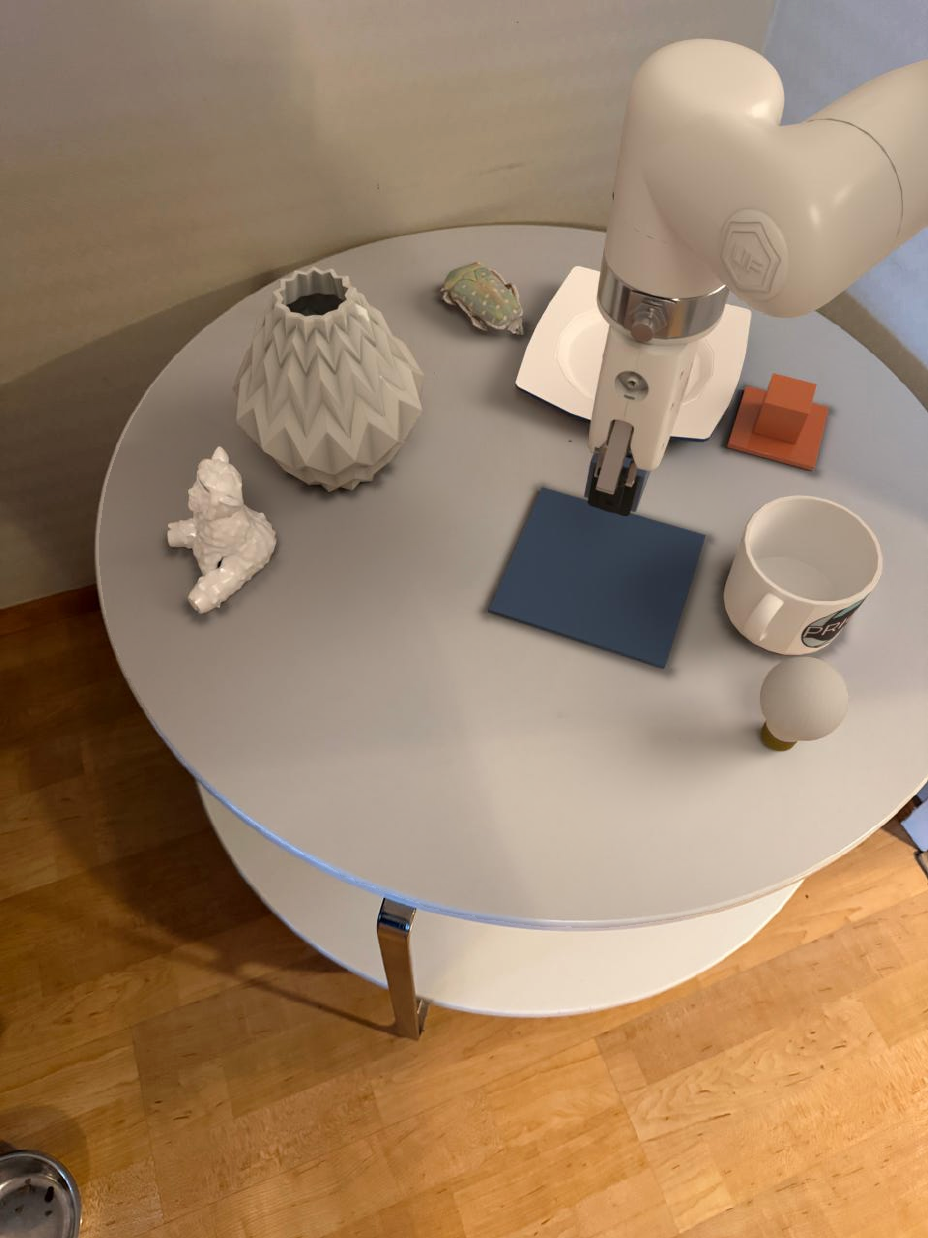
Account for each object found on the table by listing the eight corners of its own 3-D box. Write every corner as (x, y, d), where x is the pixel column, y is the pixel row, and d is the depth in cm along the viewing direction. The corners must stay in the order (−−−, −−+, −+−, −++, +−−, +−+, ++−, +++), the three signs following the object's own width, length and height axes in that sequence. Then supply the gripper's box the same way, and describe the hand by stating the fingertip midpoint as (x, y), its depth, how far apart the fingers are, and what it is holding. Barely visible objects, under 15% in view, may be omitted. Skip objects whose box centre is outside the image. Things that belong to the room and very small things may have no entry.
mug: (759, 533, 83) (786, 473, 76) (869, 598, 79) (907, 540, 72) (675, 635, 77) (697, 580, 70) (790, 709, 74) (824, 658, 67)
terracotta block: (803, 415, 89) (816, 383, 86) (795, 444, 88) (809, 414, 84) (761, 403, 90) (773, 372, 87) (752, 433, 88) (764, 402, 85)
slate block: (649, 473, 71) (659, 437, 68) (635, 512, 69) (645, 477, 66) (599, 459, 72) (606, 422, 69) (583, 497, 70) (590, 461, 67)
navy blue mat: (704, 537, 83) (705, 534, 82) (664, 669, 76) (665, 666, 75) (541, 489, 85) (541, 486, 85) (488, 612, 78) (488, 609, 78)
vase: (261, 541, 82) (214, 384, 66) (245, 406, 91) (200, 238, 75) (444, 511, 84) (441, 351, 68) (412, 381, 92) (402, 212, 77)
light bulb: (797, 790, 70) (843, 733, 62) (723, 751, 72) (759, 690, 63) (825, 729, 73) (874, 666, 64) (754, 692, 75) (792, 627, 66)
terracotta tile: (827, 411, 91) (829, 406, 90) (812, 471, 87) (814, 466, 86) (744, 389, 92) (746, 384, 92) (726, 447, 88) (728, 442, 88)
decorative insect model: (527, 264, 100) (522, 229, 96) (525, 349, 96) (520, 317, 92) (445, 270, 102) (437, 236, 97) (440, 354, 98) (430, 323, 93)
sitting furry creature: (166, 535, 82) (125, 441, 72) (261, 504, 84) (234, 407, 74) (196, 620, 78) (156, 532, 68) (295, 584, 80) (271, 494, 70)
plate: (566, 278, 100) (569, 257, 98) (756, 327, 97) (763, 306, 94) (500, 409, 90) (501, 389, 88) (709, 469, 87) (716, 450, 84)
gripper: (693, 396, 50) (636, 587, 66) (757, 212, 58) (693, 420, 74) (558, 360, 52) (534, 555, 67) (639, 185, 60) (601, 395, 75)
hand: (618, 483), depth 70 cm, fingers closed on slate block, 4 cm apart
